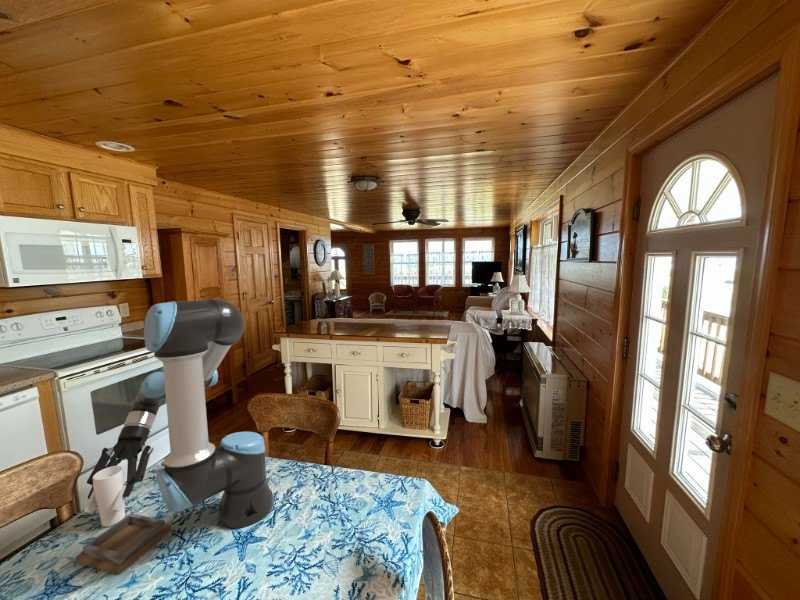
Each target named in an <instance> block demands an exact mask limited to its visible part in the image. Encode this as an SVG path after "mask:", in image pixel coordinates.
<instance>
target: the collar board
mask: <svg viewBox="0 0 800 600" xmlns="http://www.w3.org/2000/svg"><path fill="white" fill-rule="evenodd" d="M172 529H173V527H172V525H171V524H168V523H166V520H164V519H160V518H159V519H158V518H156V517H151V516H146V515H141V514H136V513H133V512H131V513H129V514H128V515H127V516H126V515H125V517H124V518H123V519H122V520H121V521H119V522H118V523H116V524H115V525H112V526H110V527H108V529H106V530H105V531H103V532H102V533H100V534H98V536H97V537H95V538H94V539H92V540H90V541H89V542H88V543H86V544H85V545H83V546H82V552H81V553H80V554H78V555H76V556H75V562H76V563H77V564H80V565H84V566H87V567H90V568H91V567H92V568H94V569H97V570H101V571H103V572H104V571H105V572H108V573H112V574H115V575H120V574H122V573H123V572H124V571H125V570H126V569H128V568H129V567H130V566H131V565H133V563H135V562H136V561H137V560H138V559H139V558H140V557H142V556H143V555H144V554H146V553H147V552H148V551H149V550H150V549H152V548H153V547H154V546H155V545H157V543H158V542H159V541H160V540H162V539H163V538H164V537H166V536H167V535H168V534H169V533H170V532H172Z"/></svg>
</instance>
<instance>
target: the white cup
mask: <svg viewBox="0 0 800 600" xmlns="http://www.w3.org/2000/svg"><path fill="white" fill-rule="evenodd" d="M125 478H126V477H125V471H124V468H123V466H122V465H117V466H112V467H108V468H105V469H103V470H101V471H99V472H97V473H96V474H95V475H94V476H93V489H94V494H95V498H96V502H97V505H96V507H97V510H98V514H99V519H100V524H101V526H102V527H105V528H107V527H108V528H109V527H112V526H114V525H115V524H116V523H118V522H119V521H121V520H122V519H124V518H125V517H126V509H125V503H126V502H124V505H123V507H122V510H121V511H115V510H113V507H114V505H115V502H116V500H117V497H118V495H119V492H120V490H121V487H122V485H123V484H126V482H125V481H126V479H125Z"/></svg>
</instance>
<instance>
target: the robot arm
mask: <svg viewBox="0 0 800 600" xmlns="http://www.w3.org/2000/svg"><path fill="white" fill-rule="evenodd" d="M242 313H243V312H241V310H240V309H239V308H238V306H236V305H235V304H234V303H232V302H230V301H227V300H225V299H221V298H220V299H219V298H209V299H197V300H196V299H195V300H183V301H182V300H179V301H178V300H177V301H168V302H160V303H156V304H153V305H152V306H151V307H149V309H148V311H147V313H146V316H145V319H144V324H143V325H144V326H143V339H144V346H145V348H146V350H147V351H149V352H151V353H152V352H153V353H154V358H156V359H157V360H159V362H161V363H162V366H163V367H162V369H163V371H162V372H161V371H155V372H152V373H150V374H149V375H147V376H146V377H145V379H144V380H143V381H142V382H141V385H140V387H139V389H138V391H137V394H136V396H135V398H134V401H133V404H132V406H131V408H130V411H129V412H128V415H127V416H126V418H125V421H124V424H123V427H122V428H121V431H120V432H119V435H118V437H117V442H116V443H115V444H114V446H113V447H104V448H103V449H102V450H101V455H100V457H99V459H98V460H97V463H96V464H95V466H94V468H93V469H92V471H91V473H90V474H89V476H88V478H87V481H86V484H88V485H91V489H90V491H89V493H88V495H87V500H88V501H87V503H86V505H85V508H84V510H83V513H86V514H93V513H94V512H95V509H96V507H97V502H96V498H95V494H94V489H93V476H94V475H95V474H96V473H97V472H99V471H101V470H103V469H105V468H108V467H112V466H119V464H121V463H122V461H125V460H126V461H127V470H126V480H125V484H123V485H122V487H121V490H120V492H119V495H118V497H117V500H116V502H115V505H114V507H113V510H115V511H121V510H122V507H123V505H124V502H125V501H126V499H127V498H129V497H130V496H131V494H132V490H133V489H134V486H135V484H137V483H142V482H143V481H144V478H145V475H146V470H147V467H148V463H149V459H150V456H151V454H152V453H153V451H154V447H152V446H151V445H146V442H147V441H148V438H149V435H150V433H151V429H152V427H153V424H154V423H155V420H156V417H157V414H158V412H159V409H160V407H161V404H162V402H163V401H164V399H165V403H166V415H167V427H168V436H169V447H170V449H169V450H170V452H169V453H168V454H167V455H166V456H165V458H164V460H163V463H164V464H163V465H164V468H160V470H157V472H156V481H157V485H158V488H159V492H160V494H161V497H162V499H163V501H164V504H165V505H166V507H167V509H168V510H169V511H170V512H171V513H173V514H174V513H175V514H177V513H180V512H183V511H185V510H187V509H189V508H193V507H194V506H196V505H198V504H200V503H201V502H204V501H206V500H208V499H210V498H212V497H214V496H216V495H218V494H219V493H222V492H223V493H222V496H221V500H220V503H219V507H218V521H219V523H220V524H221V525H222V526H224V527H225V528H231V529H239V528H244V527H248V526H252V525H253V524H256V523H258V522H259V521H261V520H262V519H263V518H265V517H267V515H268V514H270V512H271V510H272V509H273V507H274V494H273V492H272V489H271V488H270V485H269V483H268V480H267V469H266V467H267V466H266V447H265V440H264V437H263V436H262V435H261V434H259V433H257V432H254V431H237V432H233V433H230V434H227V435H225V436H224V437H223V438H221V441H220V443H219V444H220V445H219V446H218V447H216V446H215V444H214V443H212V442H210V441H209V431H208V419H207V406H206V403H207V402H206V392H205V391H206V389H207V388H209V387H212V386H215V385H216V384H217V383H218V378H219V373H218V367H219V366H220V364H221V363H222V361H223V360H224V358H225V356H226V355H227V353H228V352H229V350H230V349H231V347H232V346H233V345H235V344H236V343H238V342H239V341H240V339H241V338H242V336H243V334H244V332H245V326H246V322H245V318H244V315H243V314H242ZM140 453H141V454H140ZM139 454H140V457H138V456H139ZM138 459H139V460H138ZM137 463H138V464H137ZM125 503H126V502H125Z"/></svg>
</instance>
